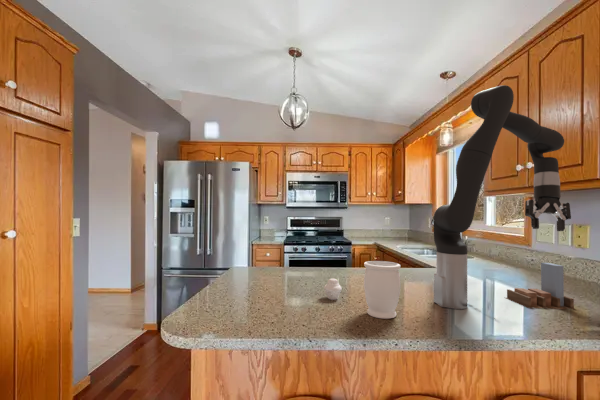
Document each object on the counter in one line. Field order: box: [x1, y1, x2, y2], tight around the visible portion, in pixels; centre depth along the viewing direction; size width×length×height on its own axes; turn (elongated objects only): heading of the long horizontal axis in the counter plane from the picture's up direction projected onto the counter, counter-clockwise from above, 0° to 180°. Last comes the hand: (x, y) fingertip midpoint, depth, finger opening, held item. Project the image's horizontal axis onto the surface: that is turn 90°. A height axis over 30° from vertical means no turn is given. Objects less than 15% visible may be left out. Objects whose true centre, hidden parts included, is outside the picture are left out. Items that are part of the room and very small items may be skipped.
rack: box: [505, 289, 575, 310], centre depth 100 cm, size 15×11×4 cm
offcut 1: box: [513, 287, 537, 306], centre depth 100 cm, size 3×6×4 cm, turn 179°
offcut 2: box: [527, 288, 551, 306], centre depth 100 cm, size 3×6×4 cm, turn 179°
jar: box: [363, 260, 402, 320], centre depth 88 cm, size 11×10×15 cm
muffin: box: [323, 278, 343, 301], centre depth 103 cm, size 6×6×7 cm
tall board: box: [540, 262, 565, 306], centre depth 100 cm, size 2×6×13 cm, turn 179°
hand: (548, 229), depth 107 cm, fingers open, 8 cm apart
